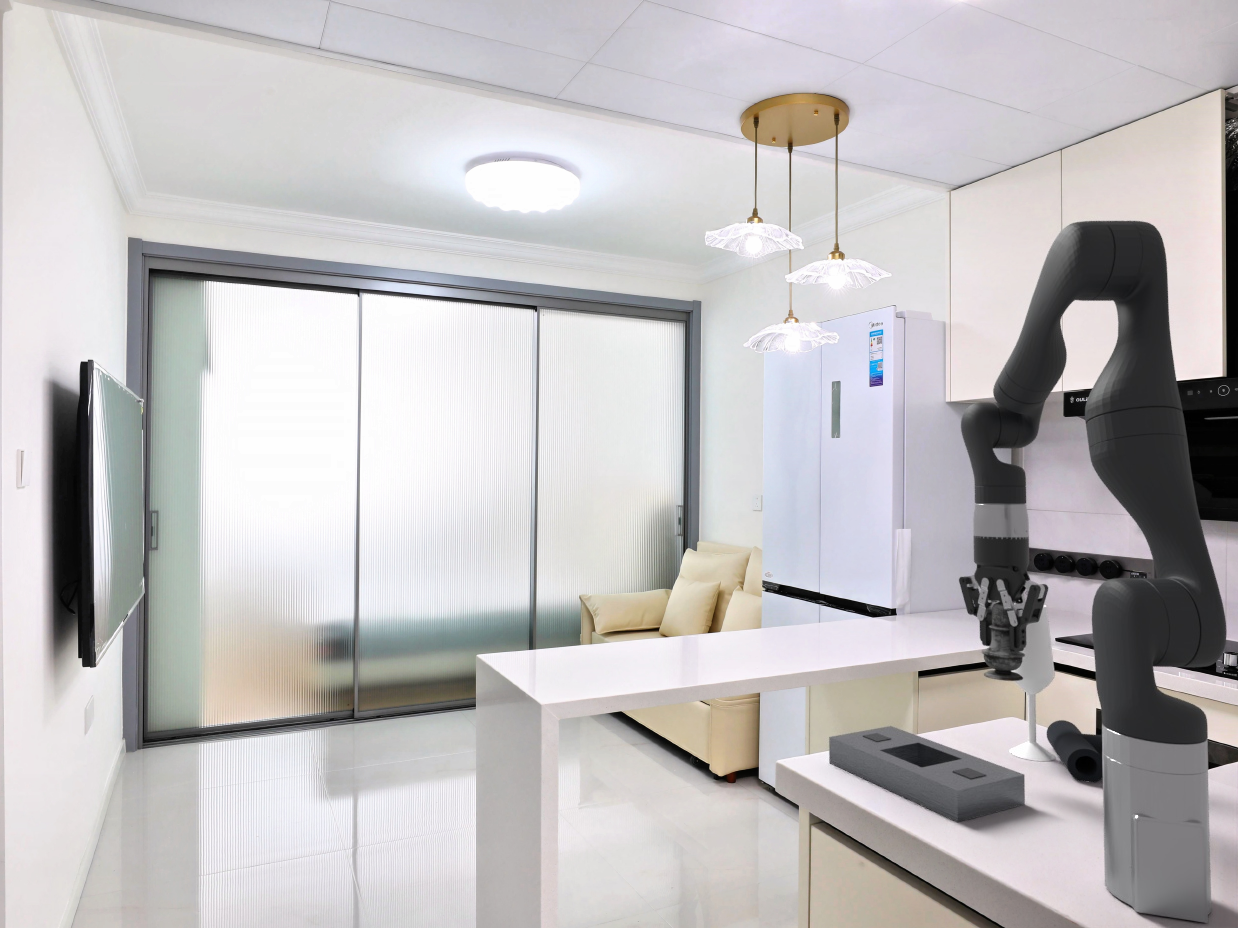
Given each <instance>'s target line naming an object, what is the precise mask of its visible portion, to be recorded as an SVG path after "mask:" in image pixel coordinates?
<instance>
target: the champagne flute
mask: <svg viewBox="0 0 1238 928" xmlns="http://www.w3.org/2000/svg"><path fill="white" fill-rule="evenodd" d="M1014 604H1016V602H1014ZM1047 606H1048V605H1045V604H1044V606H1043V609H1042V613H1041V616H1040V619H1039V622H1036V623H1031V624H1028V625H1027V626H1026V647H1025V648H1024V650H1023V651H1019V652H1022V653H1024V654H1025V656H1024V657H1022V664H1021V666H1020V667H1019V668H1018V669H1016V670H1013V671H1011V672H1015V673H1018V674H1019V675H1020V676H1022V677H1023V679H1022V680H1019V681H1013V683H1015V684H1016V686H1018V687H1019V688H1020V689H1021V691H1023V692H1024V693H1027V741H1026V742H1023V743H1021V744H1019V745H1017V746H1014V747H1012V748H1010V749H1009V751H1008V752H1009V753H1010V754H1011V753H1012V754H1011V755H1013V756H1014V757H1018V758H1021V759H1024V760H1028V761H1036V762H1051V761H1054V760H1056V758H1057V757H1056V755H1055V754H1054V753H1052V752H1051V751H1049V750H1048V749H1046V748H1045V747H1043V746H1042V745H1040V744H1039V743H1037V709H1036V708H1037V707H1036V705H1037V703H1036V702H1037V701H1036V695H1037V694H1040V693H1041V692H1042V691H1044V690H1045V689H1046V688H1047V687H1048V686H1050V685H1051V684H1052V683H1053V681H1054V679H1055V676H1056V675H1055V674H1056V673H1055V665H1054V657H1053V648H1052V647H1053V646H1052V641H1051V640H1052V638H1051V631H1050V624H1049V622H1050V621H1049V615H1048V613H1049V612H1048V607H1047Z"/></svg>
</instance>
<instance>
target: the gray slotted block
mask: <svg viewBox="0 0 1238 928" xmlns="http://www.w3.org/2000/svg"><path fill="white" fill-rule="evenodd" d="M828 740H829V741H828V743H829V745H828V748H829V749H828V754H829V755H828V756H829V758H828V759H829V764H831V765H833V766H836V767H837V768H840V769H842V770H844V771H846V772H847V773H850V774H852V775H854V776H857V777H859V778H861V779H863V780H864V781H865V780H866V781H868V782H870V783H872V784H874V785H876V786H879V787H880V788H883V789H886V790H887V791H889V792H891V793H893V794H895V795H898V796H900V797H902V798H904V799H906V800H909V801H911V802H913V803H915V804H917V805H920V806H922V807H924V808H926V809H928V810H930V811H933V812H934V813H937V814H939V815H941V816H943V817H946V818H947V819H950V820H952V821H953V822H956V823H961V822H963V821H967V820H972V819H975V818H979V817H982V816H986V815H990V814H993V813H998V812H1001V811H1005V810H1009V809H1012V808H1016V807H1021V806H1023V805H1025V804H1026V798H1025V796H1026V793H1025V792H1026V790H1025V787H1026V786H1025V784H1026V783H1025V774H1024V773H1022V772H1018V771H1015V770H1013V769H1010V768H1007V767H1005V766H1002V765H999V764H997V763H994V762H992V761H988V760H985V759H982V758H980V757H978V756H974V755H971V754H969V753H966V752H963V751H961V750H958V749H955V748H952V747H951V746H950V747H949V746H946V745H943V744H942V743H939V742H936V741H933V740H930V739H929V738H925V737H922V736H919V735H917V734H913V733H911V732H908V731H905V730H904V729H900V728H898V727H895V726H891V725H888V726H884V727H877V728H872V729H866V730H861V731H855V732H850V733H849V732H848V733H844V734H843V733H842V734H837V735H832V736H829V738H828Z"/></svg>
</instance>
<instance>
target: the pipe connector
mask: <svg viewBox="0 0 1238 928" xmlns="http://www.w3.org/2000/svg"><path fill="white" fill-rule="evenodd" d="M1046 738H1047V741H1048V742H1049V744H1050V745H1051V748H1053V750H1054V752H1055V753H1056V755H1057V756H1058V757H1059V759H1060V760H1061V762H1062V764H1063V765H1064V767H1065V768H1066V769H1067V771H1068V772H1069V774H1070V775H1071V776H1072V777H1073V778H1074V779H1075V780H1077V781H1078V780H1079V781H1078V782H1086V781H1089V782H1088V783H1097V782H1099V781H1101V780H1103V764H1102V734H1091V733H1082V731H1080V729H1079V728H1078V727H1077V725H1075V724H1074V723H1073V722H1070V721H1067V720H1064V719H1061V720H1060V719H1059V720H1055V721H1053V722H1052V723H1050V724H1049V726H1048V727H1047V730H1046Z"/></svg>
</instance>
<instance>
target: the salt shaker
mask: <svg viewBox="0 0 1238 928" xmlns="http://www.w3.org/2000/svg"><path fill="white" fill-rule="evenodd" d="M1009 626H1012V625H1011V624H1010V620H1009V616H1008V612H1007V611H1006V610H1005V609H1004V606H1003V602H998V603H995V604H993V606H992V625H990V626H989V627H990V628H991V629H992V640H991V645H990V646H988V647H987V648H984V649H982V650H981V651H980V653H982V654H983V659H984V663H986V665H987V666H988V667H989V668H991V669H992V670H987V671H986V672H984V673H983V676H984V677H986V678H988V679H992V680H999V681H1003V682H1004V681H1005V682H1006V681H1008V682H1014V681H1019V680H1022V679H1023V677H1022V676H1020V675H1019V674H1018V673H1015V672H1011V671H1013V670H1016V669H1018V668H1019V667H1020V666H1021V664H1022V657H1024V656H1025V654H1024V653H1022V652H1014V651H1011V650H1010V629H1009Z"/></svg>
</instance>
